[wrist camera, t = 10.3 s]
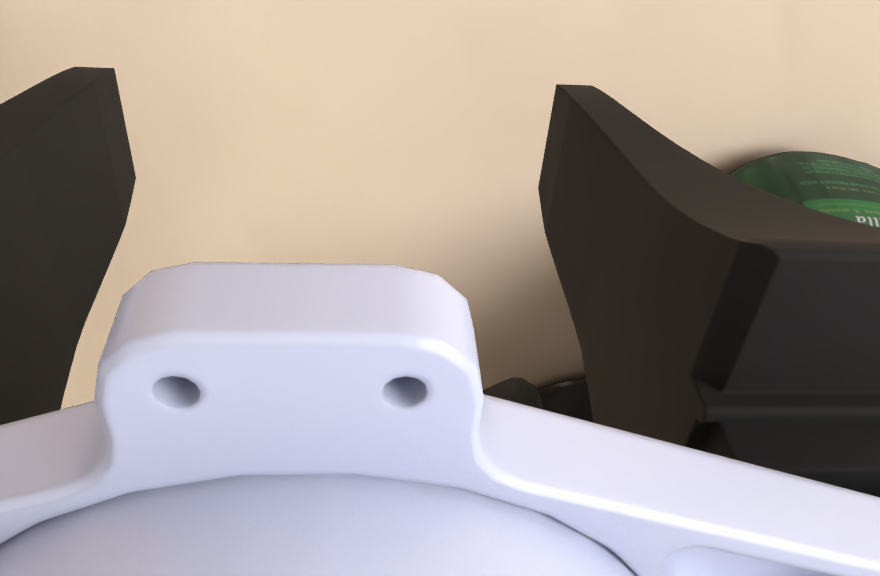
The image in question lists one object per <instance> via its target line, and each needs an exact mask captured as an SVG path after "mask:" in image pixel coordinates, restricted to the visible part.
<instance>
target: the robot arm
mask: <svg viewBox="0 0 880 576" xmlns="http://www.w3.org/2000/svg"><path fill="white" fill-rule="evenodd" d="M135 179H136V176H135V171H134V166H133V161H132V156H131V151H130V146H129V141H128V136H127V131H126V126H125V121H124V116H123V110H122V105H121V100H120V95H119V90H118V85H117V80H116V75H115V70H114V68H91V67H73V68H70V69H67V70H65V71H62V72H60V73H58V74H56V75H54V76H52V77H50V78H48V79H46V80H44V81H42V82H40V83H39V84H37V85H35V86H33V87H31V88H29V89H28V90H26V91H24V92H22V93H20V94H18V95H17V96H15V97H13V98H11V99H9V100H7V101H6V102H4V103H2V104H0V576H880V227H875V226H871V225H866V224H862V223H858V222H855V221H851V220H848V219H844V218H841V217H837V216H834V215H830V214H827V213H823V212H820V211H817V210H814V209H811V208H808V207H805V206H802V205H799V204H796V203H794V202H791V201H789V200H786V199H784V198H781V197H778V196H776V195H773V194H771V193H768V192H765V191H763V190H761V189H759V188H756V187H754V186H752V185H749V184H747V183H745V182H743V181H741V180H739V179H737V178H735V177H733V176H731V175H729V174H727V173H725V172H723V171H721V170H719V169H717V168H715V167H713V166H712V165H710V164H708V163H706V162H705V161H703V160H701V159H699V158H698V157H696V156H695V155H693V154H691V153H690V152H688V151H687V150H685V149H683V148H682V147H680V146H679V145H677V144H675V143H674V142H673V141H671V140H670V139H668V138H667V137H665V136H664V135H662V134H661V133H659V132H658V131H656V130H655V129H654V128H652V127H651V126H649V125H648V124H647V123H645V122H644V121H643V120H641V119H640V118H638V117H637V116H636V115H634V114H633V113H632V112H630V111H629V110H628V109H626V108H625V107H624V106H622V105H621V104H620V103H618V102H617V101H615V100H614V99H613V98H611V97H610V96H608V95H607V94H605V93H604V92H602V91H601V90H599V89H597V88H595V87H594V86H585V85H558V84H556V90H555V96H554V101H553V107H552V113H551V119H550V124H549V130H548V136H547V141H546V147H545V153H544V158H543V164H542V170H541V175H540V181H539V187H538V189H539V196H540V203H541V210H542V217H543V223H544V229H545V234H546V237H547V241H548V244H549V247H550V250H551V254H552V257H553V260H554V263H555V266H556V269H557V273H558V276H559V279H560V282H561V285H562V288H563V291H564V294H565V297H566V300H567V303H568V307H569V310H570V313H571V316H572V319H573V322H574V325H575V329H576V332H577V336H578V340H579V344H580V348H581V353H582V358H583V364H584V369H585V374H586V380H587V385H588V390H589V396H590V402H591V409H592V415H593V421H594V423H592V422H588V421H585V420H581V419H577V418H573V417H569V416H565V415H561V414H558V413H554V412H550V411H546V410H542V409H538V408H535V407H531V406H527V405H523V404H519V403H515V402H512V401H508V400H504V399H500V398H496V397H492V396H488V395H485V394H483V389H482V382H481V375H480V368H479V361H478V354H477V347H476V340H475V333H474V328H473V323H472V319H471V315H470V310H469V306H468V301H467V299H466V298H465V297H464V296H463V295H461V294H460V293H459V292H458V291H457V290H456V289H454V288H453V287H452V286H451V285H450V284H449V283H447V282H446V281H445V280H444V279H443V278H442V277H440V276H439V275H437V274H433V273H429V272H424V271H420V270H415V269H411V268H407V267H402V266H398V265H371V264H302V263H233V262H193V263H188V264H183V265H178V266H173V267H168V268H163V269H158V270H153V271H150V272H149V273H148V274H147V275H146V276H145V277H144V278H142V279H141V280H140V281H139V282H138V283H137V284H136V285H134V286H133V287H132V288H131V289H130V290H129V291H128V292H126V293H125V294H124V295H123V297H122V300H121V302H120V305H119V308H118V311H117V314H116V317H115V319H114V322H113V325H112V328H111V331H110V334H109V336H108V339H107V342H106V345H105V348H104V350H103V353H102V356H101V359H100V362H99V365H98V372H97V381H96V390H95V401H92V402H88V403H84V404H80V405H77V406H73V407H69V408H65V409H61V410H60V408H61V404H62V400H63V396H64V391H65V388H66V384H67V380H68V377H69V373H70V369H71V365H72V362H73V358H74V354H75V350H76V347H77V344H78V341H79V338H80V335H81V332H82V329H83V327H84V324H85V321H86V319H87V317H88V314H89V312H90V309H91V307H92V305H93V302H94V300H95V298H96V295H97V293H98V290H99V288H100V286H101V283H102V281H103V278H104V276H105V274H106V271H107V269H108V267H109V264H110V262H111V259H112V257H113V255H114V252H115V250H116V247H117V245H118V242H119V240H120V237H121V235H122V232H123V230H124V227H125V224H126V220H127V216H128V212H129V208H130V203H131V199H132V194H133V189H134V184H135Z"/></svg>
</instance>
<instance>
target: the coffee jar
mask: <svg viewBox="0 0 880 576" xmlns="http://www.w3.org/2000/svg"><path fill="white" fill-rule="evenodd" d="M730 175H731V176H733V177H735V178H737V179H739V180H741V181H743V182H745V183H747V184H749V185H752V186H754V187H756V188H759V189H761V190H763V191H765V192H768V193H771V194H773V195H776V196H778V197H781V198H784V199H786V200H789V201H791V202H794V203H796V204H799V205H802V206H805V207H808V208H811V209H814V210H817V211H820V212H823V213H827V214H830V215H834V216H837V217H841V218H844V219H848V220H851V221H855V222H858V223H862V224H866V225H871V226H875V227H880V169H879V168H876V167H873V166H871V165H869V164H867V163H863V162H858V161H855V160H851V159H848V158H845V157H841V156H836V155H830V154H825V153H817V152H783V153H778V154H774V155H771V156H767V157H764V158H761V159H758V160H755V161H751V162H750V163H748V164H746V165H744V166H742V167H740V168H738V169H737V170H735V171H734V172H733V173H732V174H730Z"/></svg>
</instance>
